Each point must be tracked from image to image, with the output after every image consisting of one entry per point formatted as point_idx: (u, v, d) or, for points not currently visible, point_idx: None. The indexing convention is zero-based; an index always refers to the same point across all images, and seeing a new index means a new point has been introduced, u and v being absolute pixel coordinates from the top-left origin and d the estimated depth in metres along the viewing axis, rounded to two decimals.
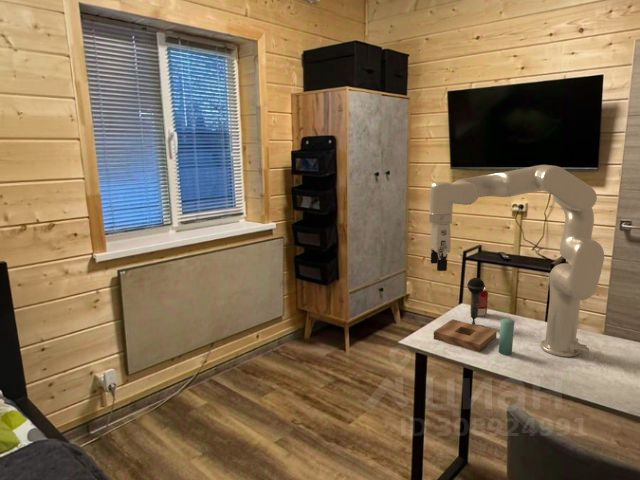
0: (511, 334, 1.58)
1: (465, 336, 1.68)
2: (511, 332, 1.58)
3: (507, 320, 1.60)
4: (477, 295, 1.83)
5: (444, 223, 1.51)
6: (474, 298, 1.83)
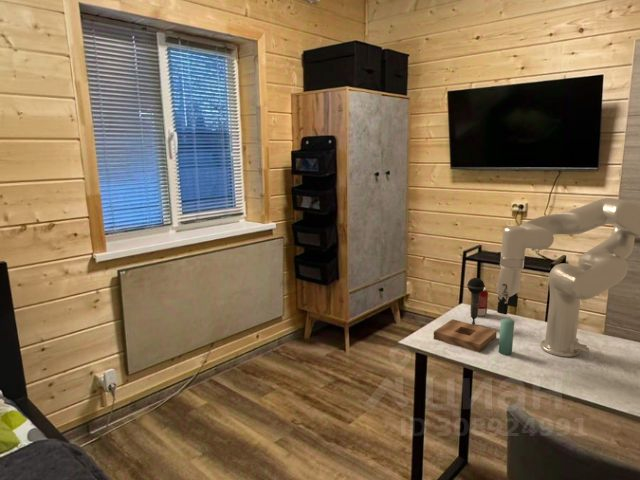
0: (511, 334, 1.58)
1: (465, 336, 1.68)
2: (511, 332, 1.58)
3: (507, 320, 1.60)
4: (477, 295, 1.83)
5: None
6: (474, 298, 1.83)
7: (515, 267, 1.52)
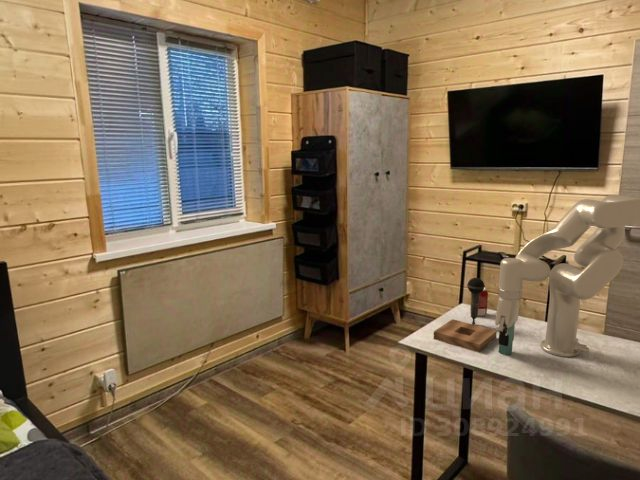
0: (511, 334, 1.58)
1: (465, 336, 1.68)
2: (511, 332, 1.58)
3: None
4: (477, 295, 1.83)
5: None
6: (474, 298, 1.83)
7: (513, 299, 1.54)
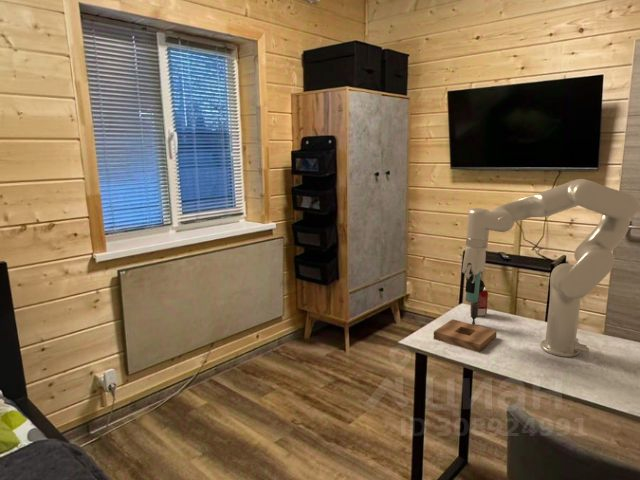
0: (477, 282, 1.65)
1: (465, 336, 1.68)
2: (477, 280, 1.65)
3: None
4: None
5: None
6: None
7: (479, 247, 1.60)
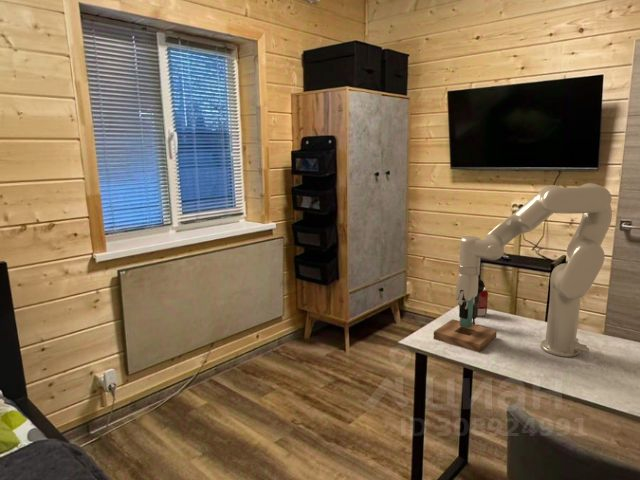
0: (470, 307, 1.69)
1: (465, 336, 1.68)
2: (470, 306, 1.69)
3: None
4: (477, 295, 1.83)
5: None
6: None
7: (471, 274, 1.65)
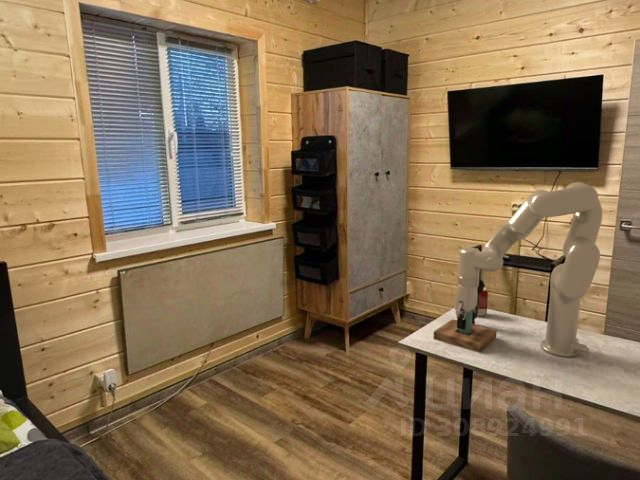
0: (469, 321, 1.70)
1: (465, 336, 1.68)
2: (469, 319, 1.70)
3: None
4: (477, 295, 1.83)
5: None
6: None
7: (470, 285, 1.66)
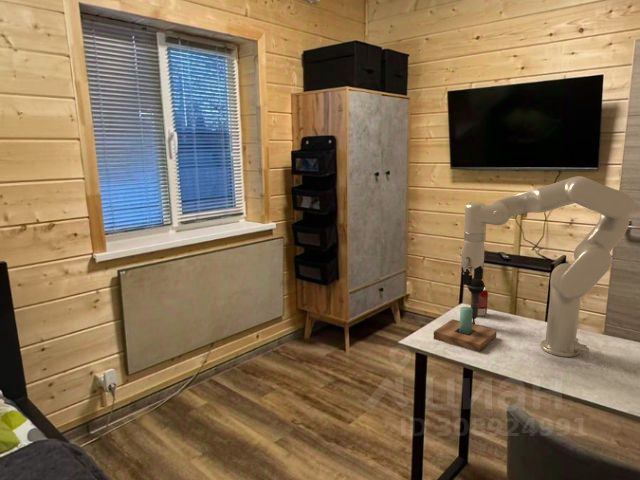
0: (469, 321, 1.70)
1: (465, 336, 1.68)
2: (469, 319, 1.70)
3: (466, 308, 1.72)
4: (477, 295, 1.83)
5: None
6: (474, 298, 1.83)
7: (477, 241, 1.62)
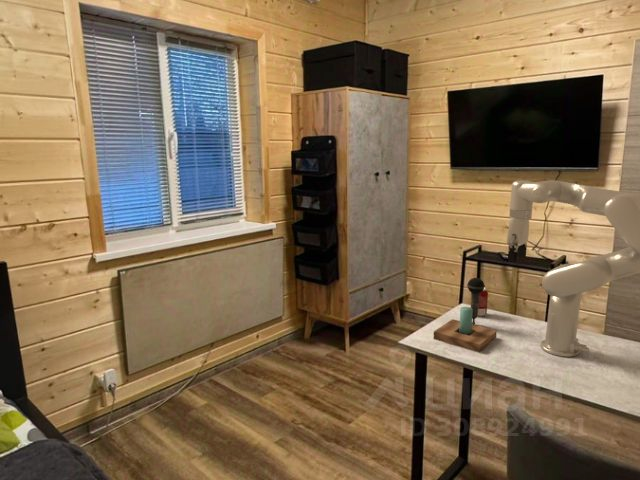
0: (469, 321, 1.70)
1: (465, 336, 1.68)
2: (469, 319, 1.70)
3: (466, 308, 1.72)
4: (477, 295, 1.83)
5: None
6: (474, 298, 1.83)
7: (524, 218, 1.64)
